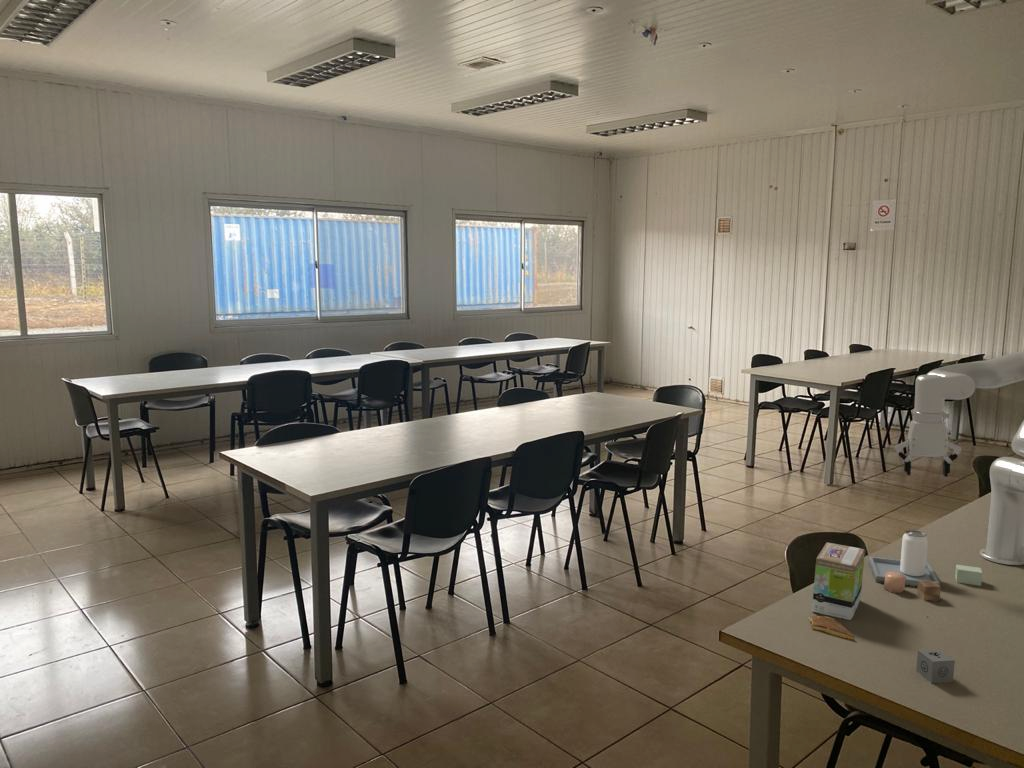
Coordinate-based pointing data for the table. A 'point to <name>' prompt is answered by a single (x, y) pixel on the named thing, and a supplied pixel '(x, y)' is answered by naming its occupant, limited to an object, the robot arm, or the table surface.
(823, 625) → the toasted sandwich
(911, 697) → the table surface
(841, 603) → the tea box
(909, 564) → the can
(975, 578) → the sage block
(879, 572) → the tray
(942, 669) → the dice cube
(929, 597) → the walnut block
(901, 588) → the brown egg
